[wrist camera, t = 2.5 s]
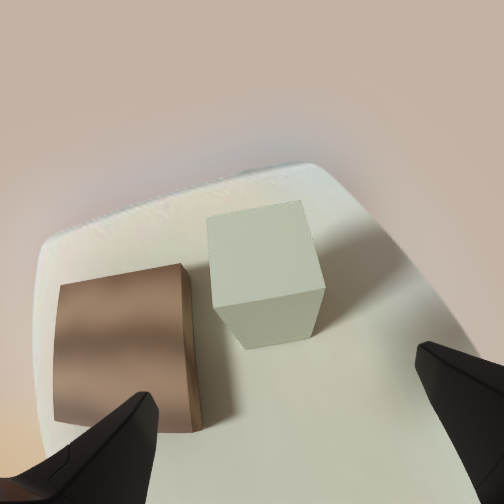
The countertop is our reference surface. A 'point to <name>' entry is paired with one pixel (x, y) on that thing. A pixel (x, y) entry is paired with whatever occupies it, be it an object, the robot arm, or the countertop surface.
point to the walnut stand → (127, 348)
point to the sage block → (265, 274)
